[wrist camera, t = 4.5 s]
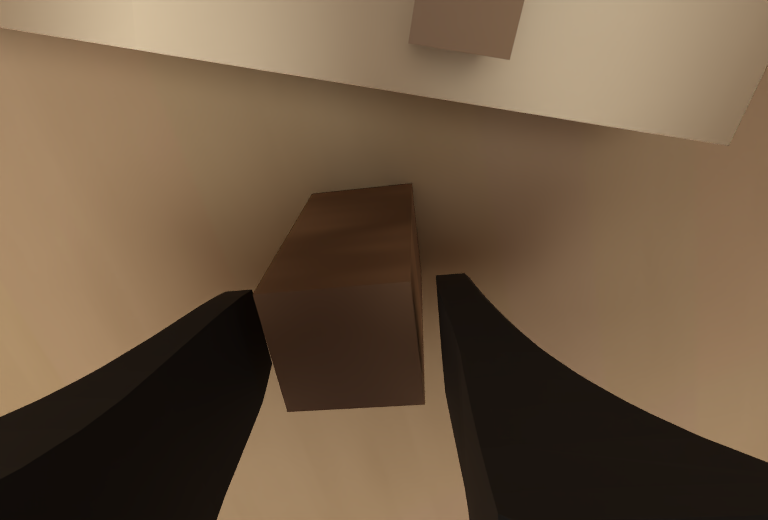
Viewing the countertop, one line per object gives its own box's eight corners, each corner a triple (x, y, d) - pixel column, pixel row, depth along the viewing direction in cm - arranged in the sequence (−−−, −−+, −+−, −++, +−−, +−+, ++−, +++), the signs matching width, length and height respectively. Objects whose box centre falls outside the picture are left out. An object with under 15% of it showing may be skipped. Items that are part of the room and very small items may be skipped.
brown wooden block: (411, 183, 14) (410, 281, 8) (421, 272, 15) (424, 404, 10) (312, 193, 14) (252, 294, 9) (330, 280, 15) (287, 411, 10)
